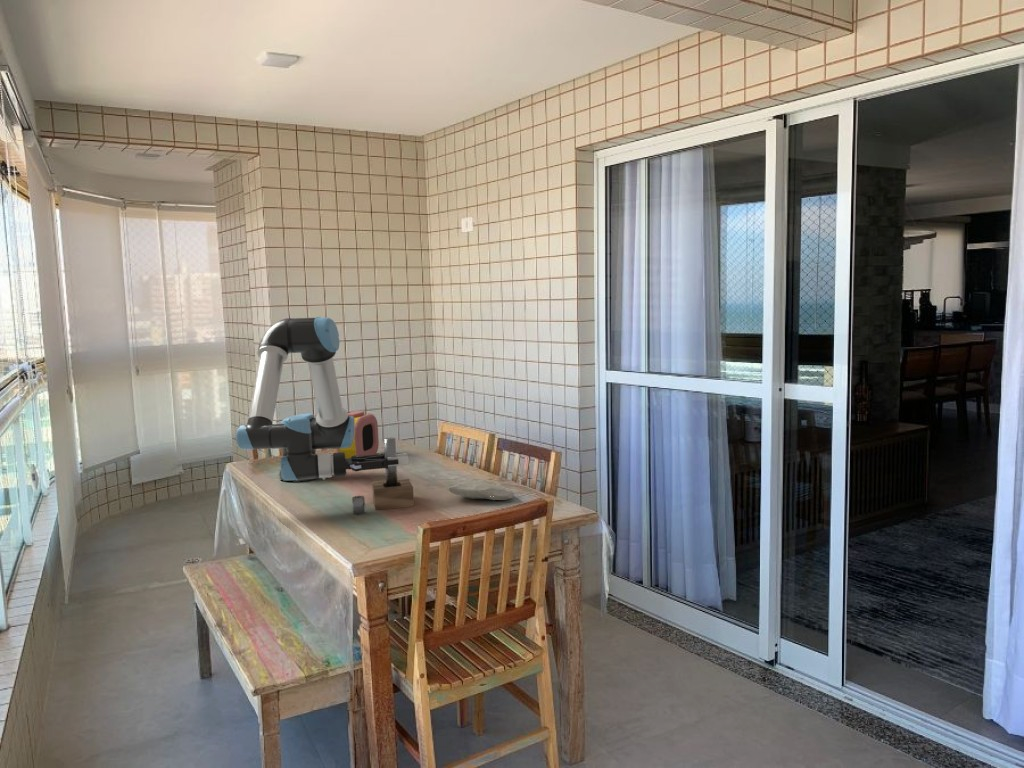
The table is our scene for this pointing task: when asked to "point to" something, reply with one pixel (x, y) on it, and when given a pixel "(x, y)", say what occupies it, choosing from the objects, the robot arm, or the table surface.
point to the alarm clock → (363, 435)
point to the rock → (481, 490)
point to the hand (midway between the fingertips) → (407, 459)
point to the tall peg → (392, 470)
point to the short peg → (358, 505)
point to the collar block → (392, 495)
